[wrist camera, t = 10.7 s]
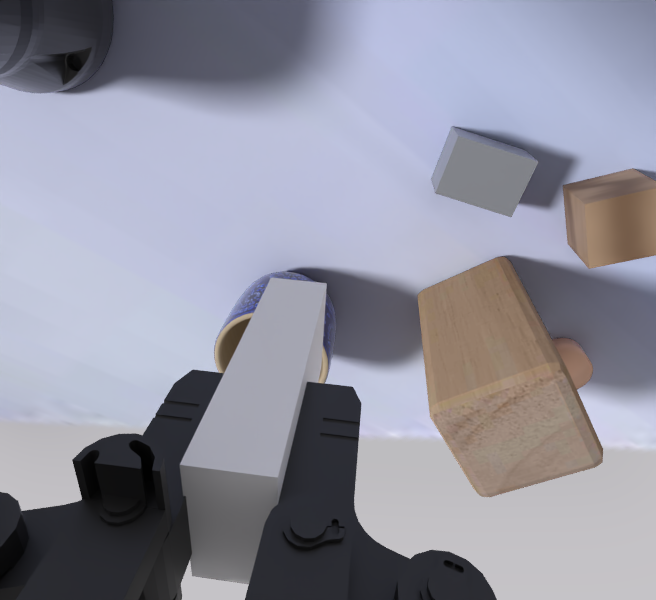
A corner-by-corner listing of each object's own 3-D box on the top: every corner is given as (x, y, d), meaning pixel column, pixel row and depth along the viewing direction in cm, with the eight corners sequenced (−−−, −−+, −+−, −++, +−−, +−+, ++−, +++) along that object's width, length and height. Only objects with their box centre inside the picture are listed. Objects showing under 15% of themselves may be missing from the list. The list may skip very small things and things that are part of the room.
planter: (360, 301, 54) (354, 360, 45) (300, 361, 59) (283, 426, 49) (281, 239, 52) (256, 287, 42) (225, 307, 57) (191, 364, 47)
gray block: (430, 178, 48) (435, 193, 43) (451, 126, 45) (458, 135, 41) (500, 200, 48) (511, 217, 43) (524, 149, 45) (538, 161, 41)
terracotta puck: (530, 372, 56) (537, 389, 54) (541, 335, 54) (549, 350, 51) (575, 377, 56) (584, 394, 53) (588, 339, 54) (599, 355, 51)
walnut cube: (567, 243, 49) (588, 268, 44) (562, 185, 46) (584, 204, 41) (634, 229, 48) (664, 253, 42) (632, 168, 45) (664, 186, 40)
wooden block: (539, 326, 53) (612, 468, 36) (452, 359, 57) (480, 505, 39) (504, 249, 50) (566, 366, 32) (413, 290, 53) (425, 416, 36)
